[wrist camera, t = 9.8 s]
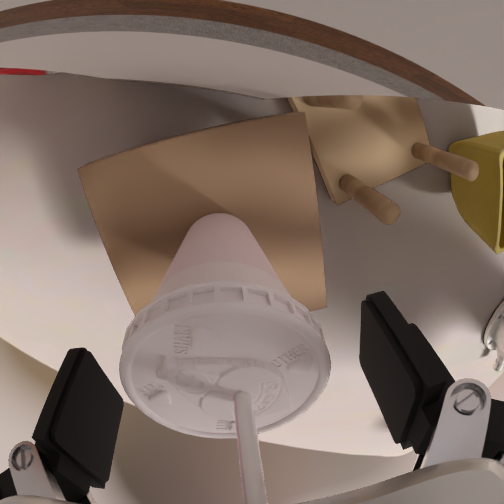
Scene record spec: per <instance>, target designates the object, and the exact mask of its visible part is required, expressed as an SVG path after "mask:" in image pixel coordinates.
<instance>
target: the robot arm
mask: <svg viewBox="0 0 504 504" xmlns="http://www.w3.org/2000/svg"><path fill="white" fill-rule="evenodd" d="M484 343H485V345H486V346H487V348H488V349H490V350H497V351H498V353H497V354H498V358H497V359H496V361H495V363H494V366H493V368H494V370H496V371H501V369H502V367H503V365H504V300H503V302H502V303H501V304H500V305H499V307H498V308H497V310H496V311H495V313H494V314H493V316H492V317H491V319H490V321H489V323H488V326H487V328H486V331H485V335H484ZM359 359H360V364H361V367H362V370H363V372H364V374H365V376H366V378H367V380H368V383H369V385H370V387H371V389H372V392H373V394H374V396H375V398H376V401H377V403H378V405H379V407H380V410H381V412H382V414H383V417H384V419H385V421H386V423H387V426H388V428H389V430H390V433H391V435H392V438H393V440H394V442H395V443H396V444H398V443H401V446H402V448H403V450H404V449H406V448H409V447H411V446H412V447H413V449H414V451H415V453H416V454H418V455H417V458H416V460H415V463H414V465H413V468H412V470H411V472H409V473H406V474H403V475H401V476H397V477H395V478H391V479H388V480H385V481H383V482H379V483H377V484H373V485H370V486H367V487H363V488H360V489H356V490H353V491H349V492H345V493H341V494H338V495H334V496H330V497H326V498H321V499H317V500H313V501H307V502H303V503H297V504H504V402H503V401H499V400H494V399H491V395H490V392H489V390H488V388H487V387H486V386H485V385H484V384H483V383H481V382H480V381H478V380H475V379H466V378H465V379H461V380H458V381H456V382H455V380H454V379H453V377H452V376H451V374H450V373H449V371H448V370H447V368H446V367H445V365H444V364H443V362H442V361H441V359H440V358H439V357H438V355H437V354H436V352H435V351H434V349H433V348H432V346H431V345H430V344H429V342H428V341H427V339H426V338H425V337H424V335H423V334H422V332H421V331H420V330H419V328H418V327H417V326H416V325H415V324H413V323H411V324H408V323H407V321H406V320H405V319H404V317H403V316H402V314H401V313H400V312H399V310H398V309H397V307H396V306H395V305H394V303H393V302H392V301H391V299H390V298H389V297H388V295H387V294H386V293H385V292H384V291H381V292H377V293H373V294H370V295H367V296H366V300H364V301H362V303H361V334H360V355H359ZM123 406H124V405H123V399H122V397H121V396H120V394H119V393H118V392H117V390H116V389H115V387H114V386H113V385H112V383H111V382H110V380H109V379H108V377H107V376H106V375H105V373H104V372H103V370H102V369H101V367H100V366H99V364H98V363H97V361H96V359H95V358H94V356H93V355H92V353H91V352H89V351H87V349H85V348H73V349H70V350H69V351H68V352H67V355H66V357H65V359H64V361H63V363H62V365H61V367H60V370H59V372H58V374H57V376H56V379H55V381H54V383H53V385H52V388H51V390H50V392H49V395H48V397H47V400H46V402H45V405H44V407H43V409H42V412H41V414H40V417H39V420H38V422H37V425H36V427H35V430H34V433H33V436H32V438H33V439H34V440H35V441H36V442H35V445H34V444H33V443H31V442H29V441H23V442H20V443H18V444H17V445H16V446H14V448H13V449H12V450H11V453H10V455H9V467H10V468H8V469H7V470H5V471H4V472H3V473H1V474H0V504H97V503H96V501H95V500H94V498H93V496H92V494H91V493H90V491H89V488H90V486H92V487H95V488H103V489H104V488H105V483H106V482H107V481H108V480H109V476H110V470H111V465H112V459H113V454H114V449H115V443H116V439H117V433H118V429H119V424H120V420H121V415H122V411H123Z"/></svg>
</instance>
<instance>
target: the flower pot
mask: <svg viewBox="0 0 504 504" xmlns="http://www.w3.org/2000/svg"><path fill="white" fill-rule="evenodd" d="M448 152H450V153H453V154H456V155H458V156H461V157H464V158H467V159H469V160H472V161H475V162H476V163H477V164H478V167H479V174H478V176H477V178H476V179H475V180H474V181H469V180H467V179H464V178H462V177H460V176H458V175H455V174H453V173H451V172H450V174H451V191H452V195H453V198H454V201H455V204H456V206H457V209H458V211H459V213H460V214H461V216H462V218H463V219H464V221H465V222H466V223H467V224H468V225H469V227H470V228H471V229H472V230H473V231H474V232H475V233H476V234H477V235H478V236H479V237H480V238H481V239H482V240H483V241H484V242H485V243H486V244H487V245H488V246H489V247H490V248H491V249H492V250H493V251H494V252H495V253H496V254H499V253H501V252H503V251H504V131H499V132H494V133H489V134H485V135H481V136H477V137H473V138H469V139H464V140H459V141H456V142H454V143H452V144H451V145H450V146H449V149H448Z"/></svg>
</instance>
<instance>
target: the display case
mask: <svg viewBox="0 0 504 504" xmlns="http://www.w3.org/2000/svg"><path fill="white" fill-rule="evenodd" d="M0 68H20V69H34V70H46V71H55V72H64V73H72V74H80V75H86V76H93V77H99V78H105V79H111V80H122V81H138V82H151V83H161V84H171V85H179V86H187V87H195V88H202V89H208V90H215V91H221V92H227V93H232V94H238V95H243V96H248V97H253V98H258V99H273V98H285V97H301V96H324V95H377V96H400V97H415V98H426V99H437V100H446V101H454V102H461V103H468V104H475V105H481V106H487V107H492V108H498V109H503V110H504V0H0Z"/></svg>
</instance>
